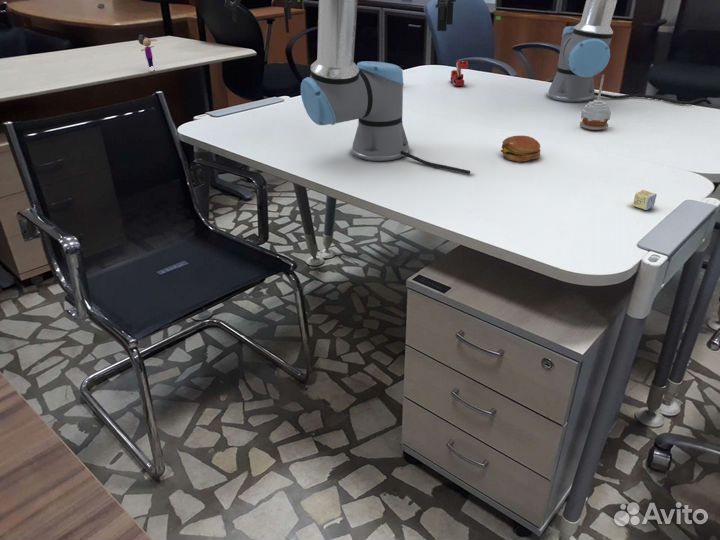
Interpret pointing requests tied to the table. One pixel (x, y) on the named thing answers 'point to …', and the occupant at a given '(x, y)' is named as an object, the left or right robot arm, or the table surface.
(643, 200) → the alphabet block
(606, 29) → the right robot arm
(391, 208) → the table surface
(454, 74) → the toy fire truck
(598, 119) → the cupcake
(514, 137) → the burger
